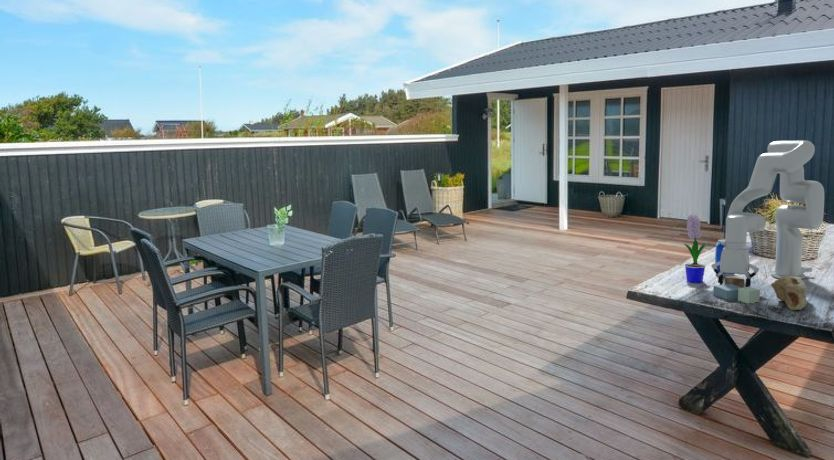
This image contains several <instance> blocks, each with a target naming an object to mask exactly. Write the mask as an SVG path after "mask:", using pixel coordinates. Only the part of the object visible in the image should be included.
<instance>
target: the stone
mask: <svg viewBox="0 0 834 460" xmlns="http://www.w3.org/2000/svg"><path fill="white" fill-rule="evenodd" d="M770 286H771V287H772V289H773V291H774V292H775V295H776V298H777V299H779V300H780V301H781V302H785V304H786V307H787V308H788V309H789V310H790V311H796V310H797V311H798V310H799V311H801V310H802V309H803V308H805V307H806V306H807V303H808V300H807V296H808V295H807V294H808V293H807V292H808V287H807V286H806V283H805V282H804V280H803V279H801V278H800V277H794V276H789V277H781V278H777V280H775V281H774V282H772V283H771V284H770Z"/></svg>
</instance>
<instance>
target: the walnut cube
mask: <svg viewBox="0 0 834 460" xmlns="http://www.w3.org/2000/svg"><path fill="white" fill-rule="evenodd" d="M725 284H733V285H736V286H739V287H742V288H744V284H745V279H744V278H742V277H740V276H738V275H734V276H728V277H724V285H725Z"/></svg>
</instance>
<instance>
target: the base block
mask: <svg viewBox="0 0 834 460" xmlns="http://www.w3.org/2000/svg"><path fill="white" fill-rule="evenodd" d="M738 288H742V287H739V286H736V285H733V284H725V283H724V284H722V285H720V284H716V285H713V288H712V289H713V291H712V293H713V294H712V295H713V296H716V297H719V298H721V299H723V298H724V299H723V300H726V299H731V300H738Z"/></svg>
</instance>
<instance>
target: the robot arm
mask: <svg viewBox="0 0 834 460" xmlns="http://www.w3.org/2000/svg"><path fill="white" fill-rule="evenodd" d="M815 150H816V148H815V144H813V142H811V141H809V140H803V139H802V140H801V139H799V140H797V139H796V140H776V141H772V142H769V144H768V145H767V152H765V153H762V154H759V156H757V159H756V162H755V163H754V164H755V165H754V167H753V172H752V174H751V177H750V179H749V182H748V183H749V184H748V185H747V187H746V188H745V189H744V190H743V191H741V192H740V193H739V194H738V195H737V196H736V197H735V198H734V199H733V201H732V202H731V204H730V207H729V209H728V212H727V215H726V218H725V237H724V239H725V241H724V242H721V245H724V246H725V248H723V250H722V254H721V261H720V262H717V263H715V262H714V263H712V264H711V268H712V270H713V272H714V273H715V274H716V275H717V277H718V278H717V283H718V284H719V285H724V277H723V275H722V274H723V273H733V274H734V275H744V276H745V277H746V278H745V287H751V281H752V278H753V277H755V276H756V275H757V273H758V272H759V271H760V268H759V267H757V266H755V265H753V264H752V263H750V253H749V249H748V248H747V235H748V234H747V233H757V232H760V231H762V230H764V229H765V227H766V225H767V220H766V218H765V217H764V216H763V215H762V214H759V213H753V212H752V213H751V212H745V211H744V212H743V210H744V208H745V207H746V206H747V205H748V204H750V202H752V201H754V200H756V199H759V198H761V197H765V196H767V195H770V194H771V193H772V190H773V187H774V184H775V182H776V178H777V175H778V174H779V196H780V199H781V200H782V201H784V202H788V203H789V202H790V203H796V204H797V203H799V205H798V204H797V205H796V204H784V205H780V206H779V207H778V208H777V209H776V210H775V212H774V220H775V226H776V240H775V241H776V245H775V262H774V264H775V265H774V271H773V270H772V271H771V272H770V276H771V277H773V278H774V279H775V278H776V279H779V278H781V277H789V276H794V277H800V278H801V279H802V280H803V279H805V278H806V275H805V273H812V272H813V268H812V267H811V266H810V267H805V266H802V258H803V242H804V241H803V240H804V239H803V234H802V232H801V230H800V229H805V230H806V229H807V230H817V229H818V228H819V229H820V227H821V226H822V224H823V221H824V216H825V215H824V210H825V188H824V186H823V184H822V183H821V182H819V181H816V180H806V179H805V169H804V165H806V163H808V162H809V161H810V160H811V159H812V158H813V156H814V155H815ZM801 204H805V205H801ZM718 265H720V271H719V270H718V269H717V267H716V266H718ZM750 269H751V270H753V272H752V273H751V272H750Z"/></svg>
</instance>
